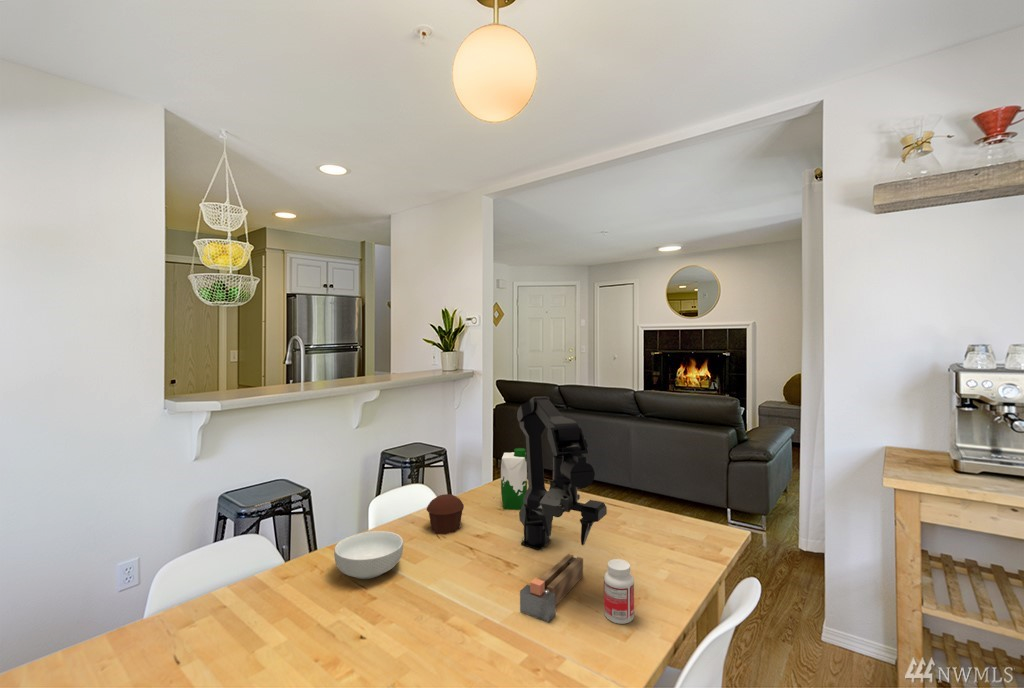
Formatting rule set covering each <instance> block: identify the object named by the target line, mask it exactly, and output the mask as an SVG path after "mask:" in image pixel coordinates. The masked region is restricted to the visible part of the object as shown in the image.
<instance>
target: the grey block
mask: <svg viewBox="0 0 1024 688" xmlns="http://www.w3.org/2000/svg"><path fill="white" fill-rule="evenodd" d="M520 612H521V613H523V614H524V615H525V614H526V615H528V616H531V617H533V618H536V619H538V620H540V621H544V622H545V623H550V622H551V621H552V619H553V618H555V616H556V606H555V594H553V593H551V592H549V590H547V589H546V590H545V592H544V593H543V594H542V595H541V596H539V595H536V594H533V593H530V584H526V585H525V586H524V587H522V589H520V590H519V613H520Z"/></svg>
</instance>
